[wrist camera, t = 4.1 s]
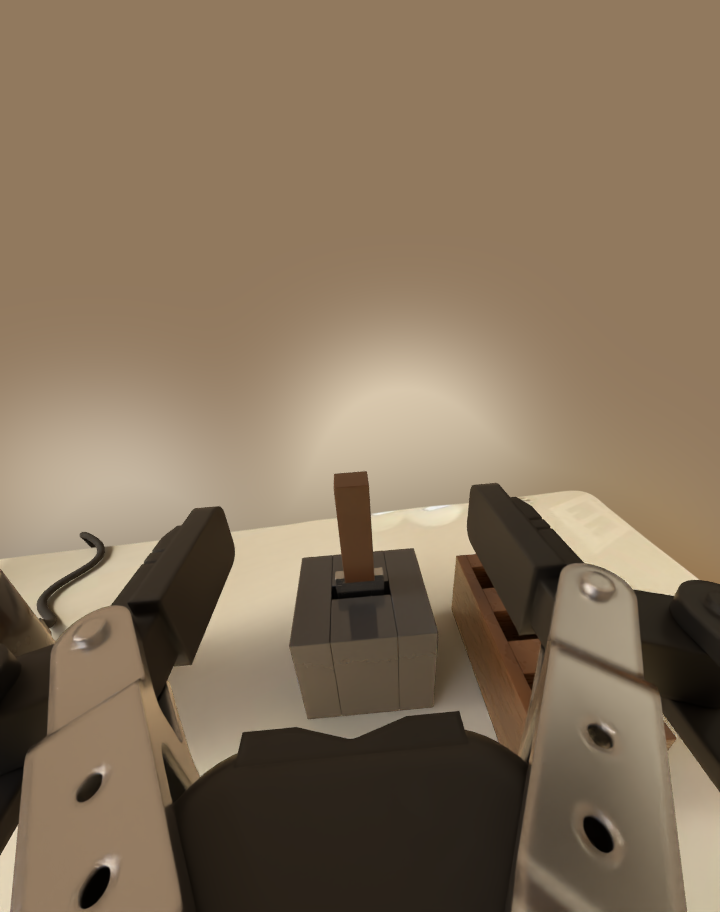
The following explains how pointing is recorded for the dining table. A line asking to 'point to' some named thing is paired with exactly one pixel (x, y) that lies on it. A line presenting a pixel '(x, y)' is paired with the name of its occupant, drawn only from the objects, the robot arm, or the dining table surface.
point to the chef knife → (355, 538)
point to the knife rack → (498, 651)
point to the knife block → (364, 640)
